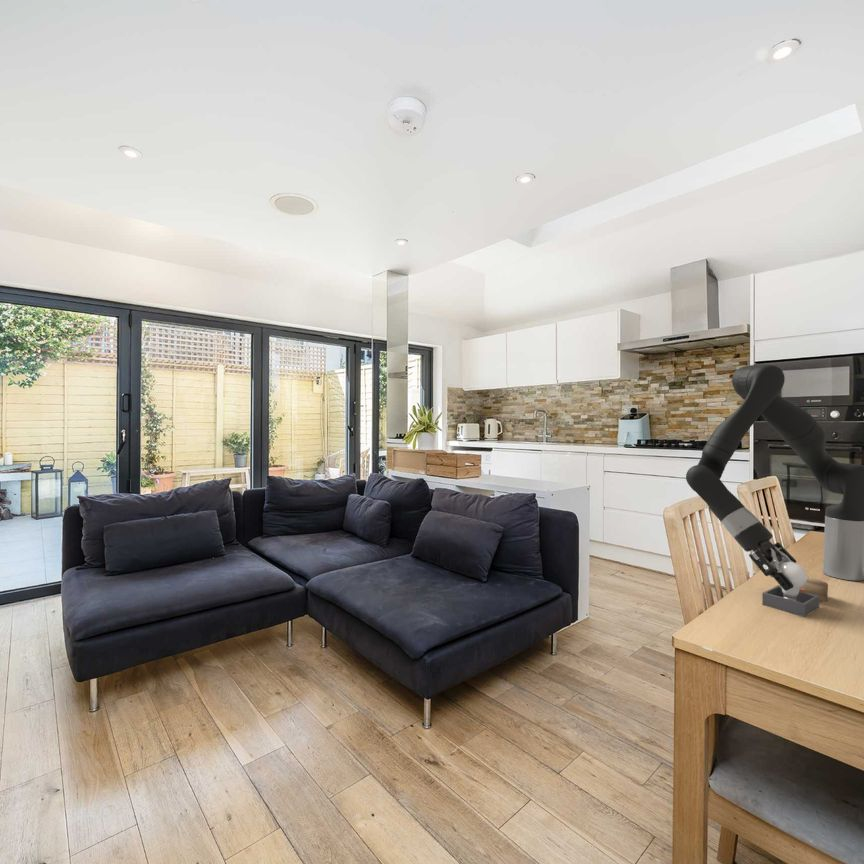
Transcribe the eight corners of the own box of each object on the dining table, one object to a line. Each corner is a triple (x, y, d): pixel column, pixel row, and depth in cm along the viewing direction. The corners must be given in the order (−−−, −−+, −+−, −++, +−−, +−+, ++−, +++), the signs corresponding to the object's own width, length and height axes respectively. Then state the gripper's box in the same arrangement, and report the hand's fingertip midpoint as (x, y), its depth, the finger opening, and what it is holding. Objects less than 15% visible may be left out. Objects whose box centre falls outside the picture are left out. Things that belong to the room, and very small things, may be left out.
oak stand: (794, 588, 129) (795, 574, 128) (831, 598, 122) (832, 582, 122) (783, 594, 124) (783, 579, 124) (821, 604, 117) (821, 589, 117)
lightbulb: (811, 613, 112) (813, 567, 112) (781, 610, 114) (783, 565, 113) (797, 602, 119) (798, 559, 118) (768, 600, 120) (770, 557, 119)
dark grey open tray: (777, 596, 123) (778, 582, 122) (818, 607, 116) (819, 592, 115) (762, 604, 117) (762, 589, 117) (804, 617, 110) (805, 600, 110)
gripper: (745, 524, 117) (799, 583, 108) (769, 517, 126) (821, 572, 117) (722, 540, 122) (772, 598, 113) (746, 533, 130) (794, 587, 121)
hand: (797, 585), depth 115 cm, fingers open, 8 cm apart
